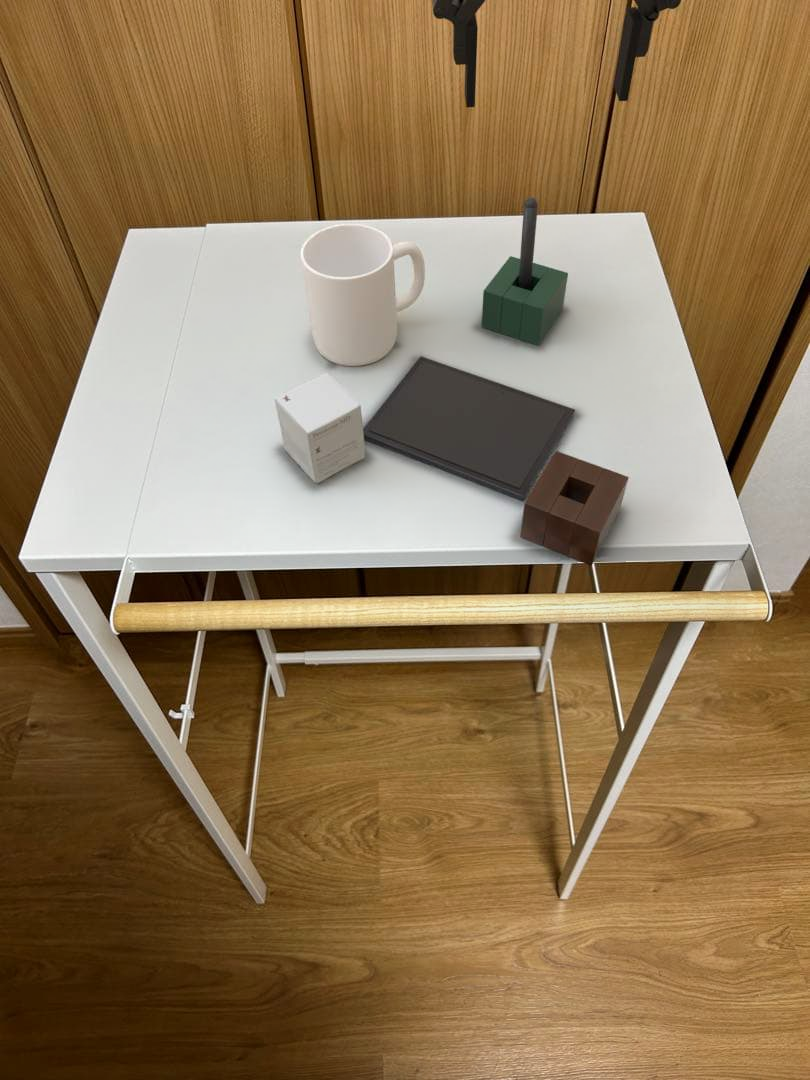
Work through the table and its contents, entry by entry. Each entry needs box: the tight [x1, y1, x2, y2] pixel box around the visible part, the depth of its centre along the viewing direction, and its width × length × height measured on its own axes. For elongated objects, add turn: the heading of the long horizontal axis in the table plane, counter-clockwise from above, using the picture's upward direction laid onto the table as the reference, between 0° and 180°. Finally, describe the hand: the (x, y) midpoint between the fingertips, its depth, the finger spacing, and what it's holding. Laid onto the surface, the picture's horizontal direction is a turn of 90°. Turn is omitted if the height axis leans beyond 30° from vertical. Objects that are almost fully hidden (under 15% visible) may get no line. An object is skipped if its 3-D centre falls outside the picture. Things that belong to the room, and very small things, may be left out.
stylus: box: [518, 197, 539, 291], centre depth 90 cm, size 1×1×14 cm
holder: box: [519, 450, 630, 567], centre depth 75 cm, size 7×7×5 cm
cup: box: [300, 223, 426, 367], centre depth 89 cm, size 9×14×12 cm
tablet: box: [363, 355, 576, 502], centre depth 85 cm, size 18×13×1 cm
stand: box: [481, 256, 569, 346], centre depth 93 cm, size 7×7×5 cm
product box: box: [274, 371, 366, 484], centre depth 80 cm, size 6×6×7 cm
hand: (545, 97), depth 75 cm, fingers open, 13 cm apart
